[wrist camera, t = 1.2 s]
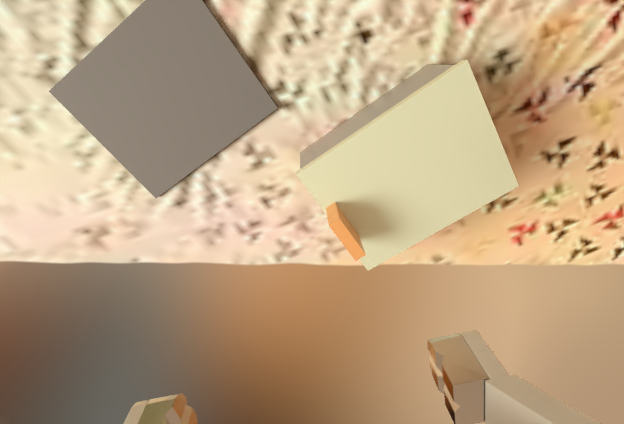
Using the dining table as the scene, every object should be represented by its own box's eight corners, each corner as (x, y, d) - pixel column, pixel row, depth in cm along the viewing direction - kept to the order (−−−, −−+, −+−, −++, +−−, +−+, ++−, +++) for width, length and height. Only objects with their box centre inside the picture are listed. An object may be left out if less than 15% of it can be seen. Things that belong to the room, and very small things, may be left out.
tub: (427, 64, 36) (460, 64, 29) (472, 161, 41) (509, 182, 34) (300, 152, 40) (300, 172, 32) (356, 230, 45) (367, 262, 38)
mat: (181, -30, 31) (179, -32, 31) (278, 107, 37) (277, 108, 37) (52, 90, 35) (48, 91, 35) (157, 196, 41) (156, 198, 41)
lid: (456, 60, 30) (492, 59, 24) (506, 179, 35) (546, 201, 29) (296, 168, 34) (296, 189, 28) (364, 260, 39) (375, 292, 33)
